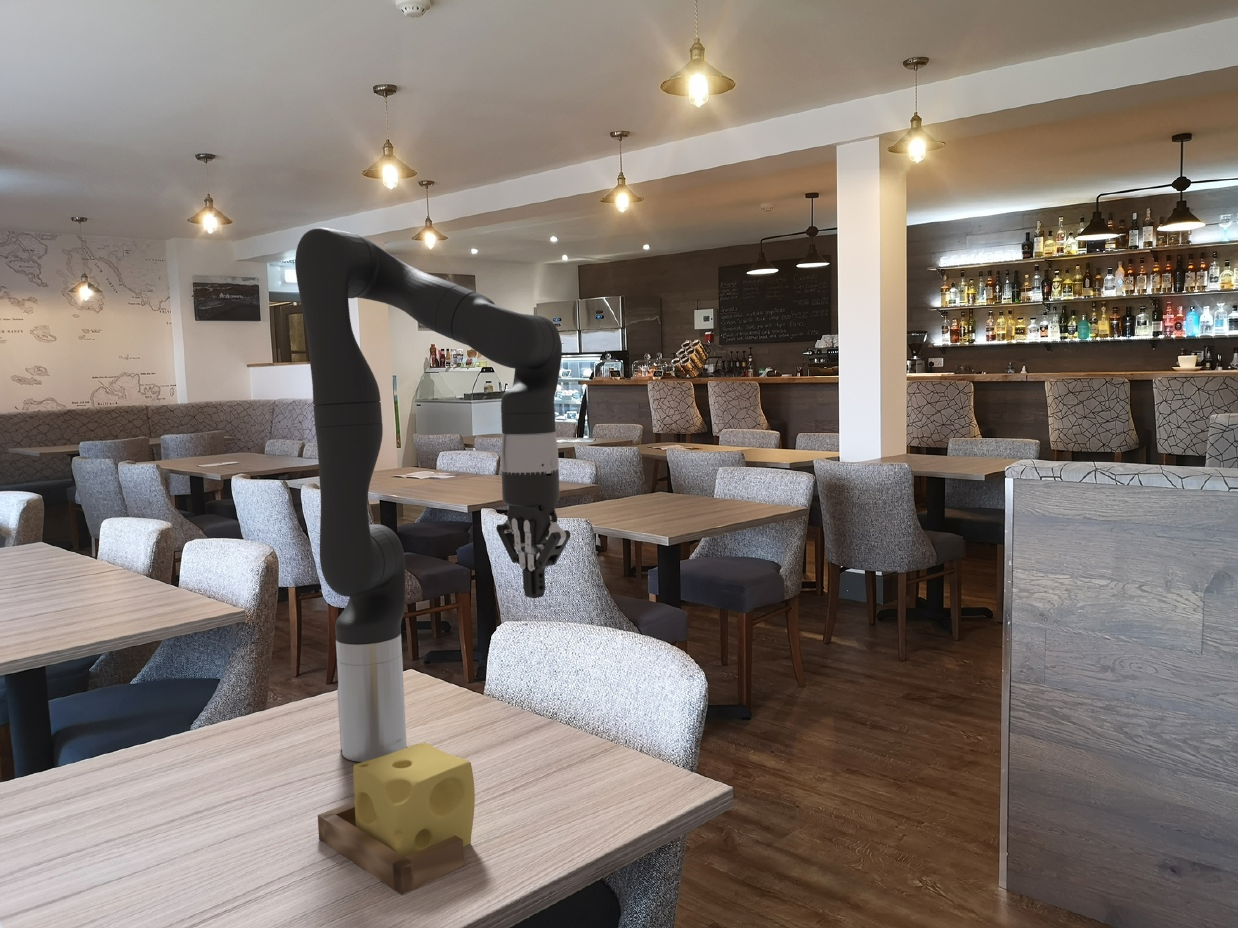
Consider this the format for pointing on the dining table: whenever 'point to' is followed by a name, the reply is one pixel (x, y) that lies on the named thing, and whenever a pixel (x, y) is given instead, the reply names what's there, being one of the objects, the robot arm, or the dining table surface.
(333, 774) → the dining table surface
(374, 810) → the cheese
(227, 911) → the dining table surface
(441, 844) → the walnut cradle
